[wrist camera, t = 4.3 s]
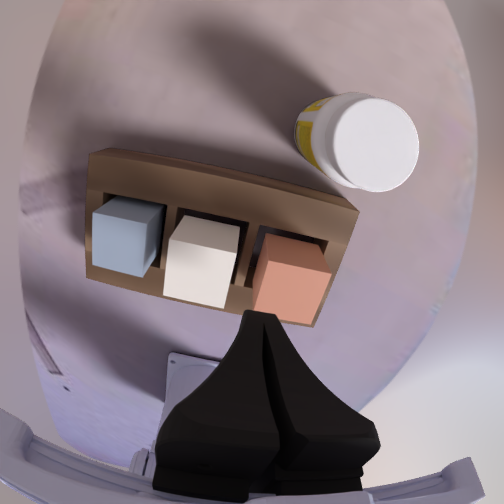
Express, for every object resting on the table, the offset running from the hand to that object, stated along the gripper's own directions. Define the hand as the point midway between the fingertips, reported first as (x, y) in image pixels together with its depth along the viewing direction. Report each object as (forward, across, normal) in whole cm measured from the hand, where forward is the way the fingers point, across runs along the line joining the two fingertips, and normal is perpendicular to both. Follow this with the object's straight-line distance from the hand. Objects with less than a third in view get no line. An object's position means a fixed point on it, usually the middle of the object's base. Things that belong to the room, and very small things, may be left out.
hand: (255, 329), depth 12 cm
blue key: (+8, +8, 0) cm, 12 cm away
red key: (+7, -2, 0) cm, 7 cm away
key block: (+10, +3, 0) cm, 10 cm away
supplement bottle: (+10, -3, -8) cm, 13 cm away
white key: (+7, +3, 0) cm, 8 cm away
